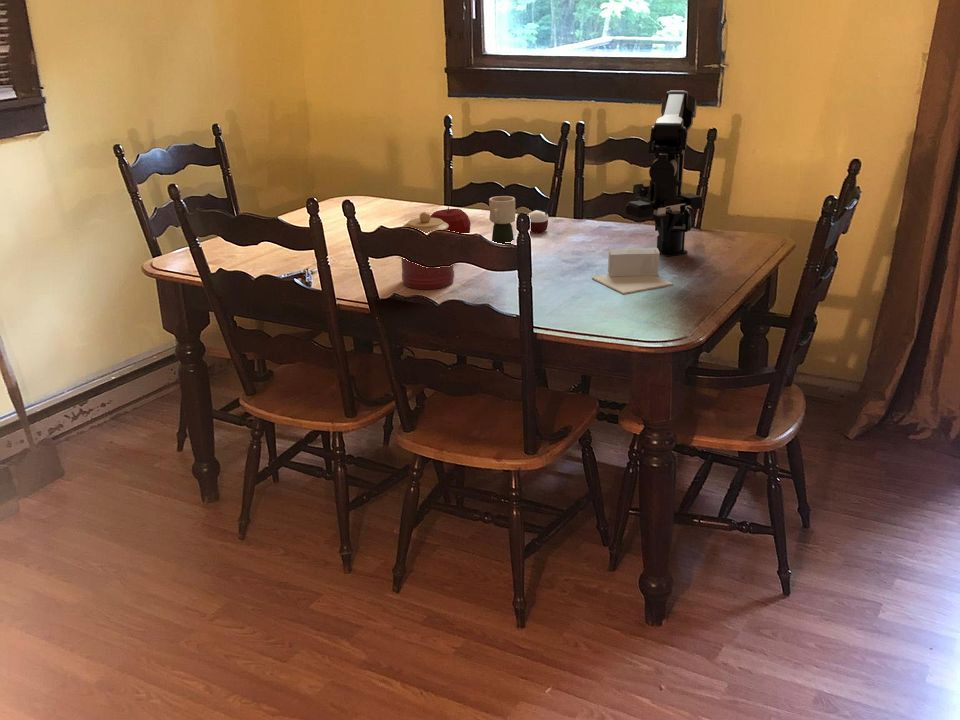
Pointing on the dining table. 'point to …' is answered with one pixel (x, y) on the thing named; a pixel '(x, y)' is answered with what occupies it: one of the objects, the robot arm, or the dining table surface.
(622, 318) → the dining table surface
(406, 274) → the canister
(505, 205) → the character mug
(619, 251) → the skincare box
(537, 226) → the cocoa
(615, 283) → the mat
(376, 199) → the dining table surface
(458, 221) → the apple
